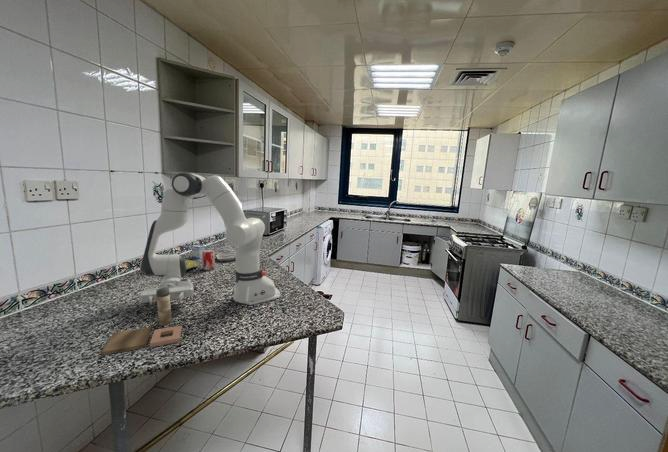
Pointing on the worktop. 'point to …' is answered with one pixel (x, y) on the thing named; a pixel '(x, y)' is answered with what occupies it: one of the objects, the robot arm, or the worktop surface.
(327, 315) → the worktop surface
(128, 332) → the walnut board
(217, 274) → the worktop surface
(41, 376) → the worktop surface
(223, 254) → the brain slice
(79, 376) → the worktop surface
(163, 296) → the beech tool handle
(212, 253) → the soda can
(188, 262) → the frozen beans
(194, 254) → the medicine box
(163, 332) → the frame
